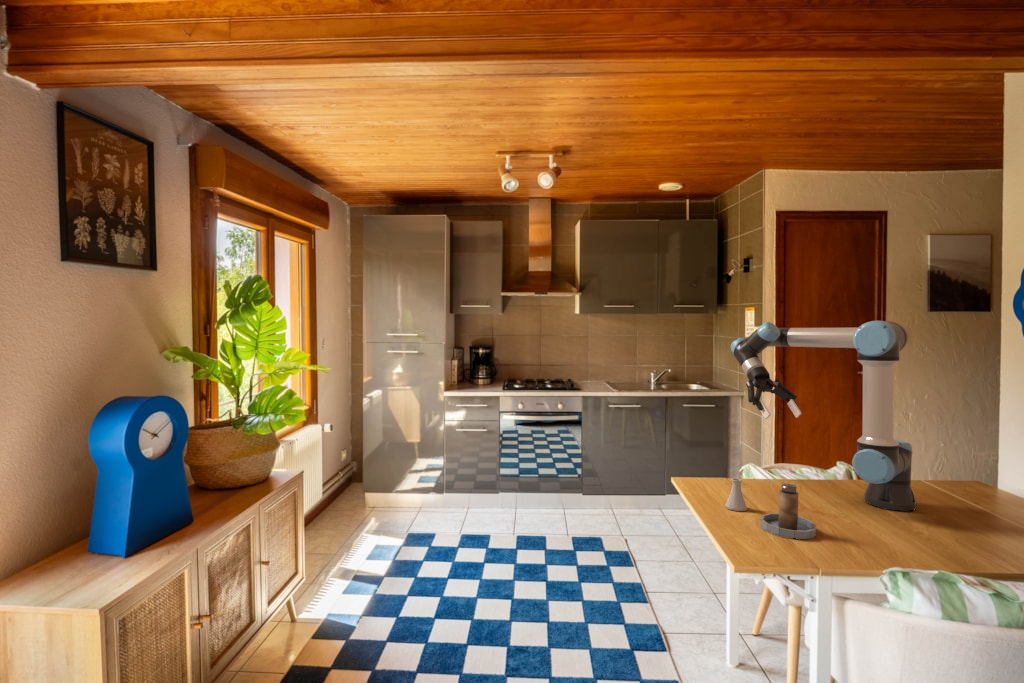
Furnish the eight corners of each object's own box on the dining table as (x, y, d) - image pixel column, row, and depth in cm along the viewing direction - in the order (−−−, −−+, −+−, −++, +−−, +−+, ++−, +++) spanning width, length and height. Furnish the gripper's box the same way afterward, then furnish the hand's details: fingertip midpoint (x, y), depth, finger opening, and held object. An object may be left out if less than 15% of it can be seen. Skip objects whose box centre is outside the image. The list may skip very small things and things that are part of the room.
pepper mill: (791, 524, 167) (793, 483, 166) (800, 531, 162) (802, 488, 161) (775, 524, 167) (776, 483, 166) (783, 530, 162) (784, 488, 161)
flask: (749, 513, 179) (750, 483, 178) (726, 511, 180) (727, 481, 180) (744, 505, 186) (745, 477, 186) (722, 504, 187) (723, 475, 187)
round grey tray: (799, 521, 172) (799, 513, 172) (826, 539, 157) (827, 531, 157) (752, 520, 172) (752, 513, 172) (775, 539, 157) (775, 531, 157)
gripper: (777, 377, 216) (805, 420, 202) (724, 378, 209) (749, 423, 195) (787, 365, 211) (817, 409, 197) (733, 365, 204) (760, 411, 190)
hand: (783, 416), depth 196 cm, fingers open, 13 cm apart
